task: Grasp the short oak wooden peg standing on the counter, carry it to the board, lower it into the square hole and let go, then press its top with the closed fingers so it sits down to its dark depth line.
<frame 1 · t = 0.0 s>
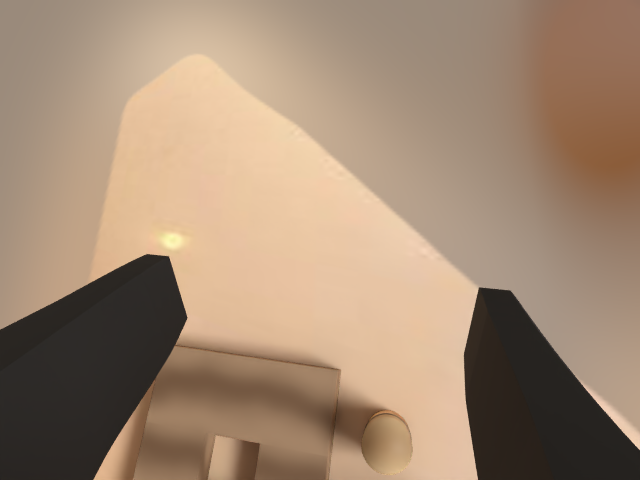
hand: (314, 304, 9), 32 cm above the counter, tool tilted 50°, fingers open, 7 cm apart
oak peg: (387, 433, 38), on the counter
hole board: (236, 463, 39), on the counter
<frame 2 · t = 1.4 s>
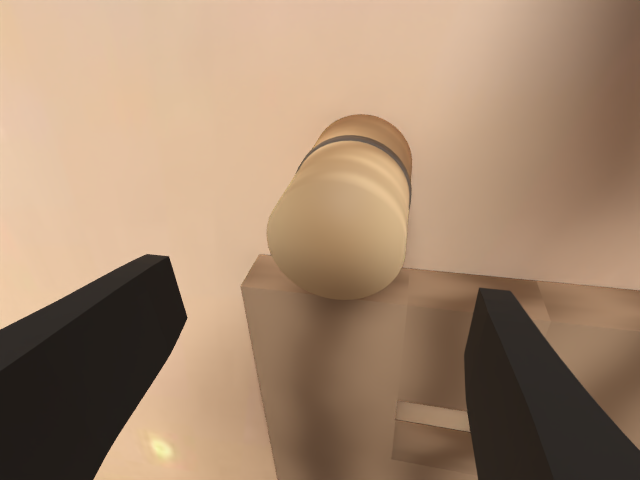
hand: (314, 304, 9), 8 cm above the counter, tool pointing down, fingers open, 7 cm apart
oak peg: (361, 164, 16), on the counter
hole board: (445, 399, 23), on the counter
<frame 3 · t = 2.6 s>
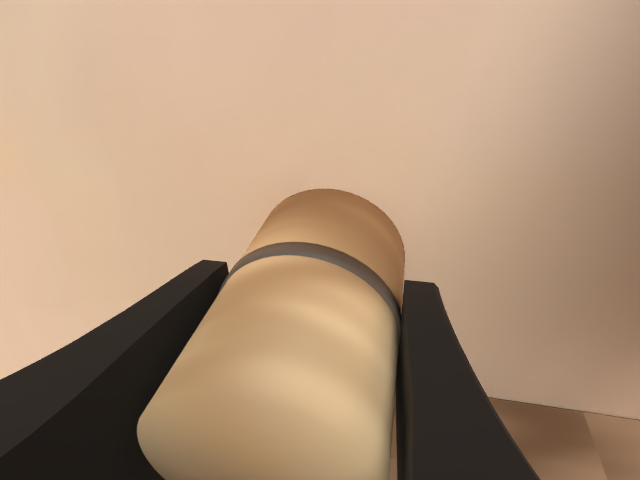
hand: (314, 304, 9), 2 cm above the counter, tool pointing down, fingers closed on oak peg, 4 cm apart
oak peg: (330, 254, 11), on the counter, touching gripper
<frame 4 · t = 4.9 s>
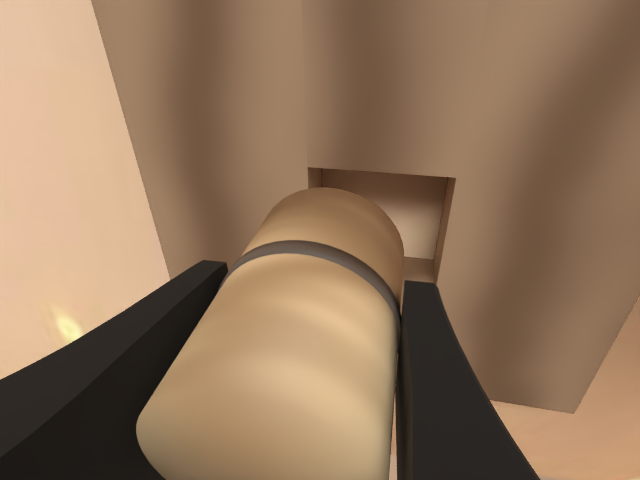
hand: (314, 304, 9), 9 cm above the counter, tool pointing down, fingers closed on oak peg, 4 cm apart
oak peg: (330, 253, 11), point 7 cm above the counter, touching gripper
hole board: (380, 205, 18), on the counter
when the fingers open (4 cm above the counter, at t = 7.0 s): oak peg drops 2 cm, resting in hole board.
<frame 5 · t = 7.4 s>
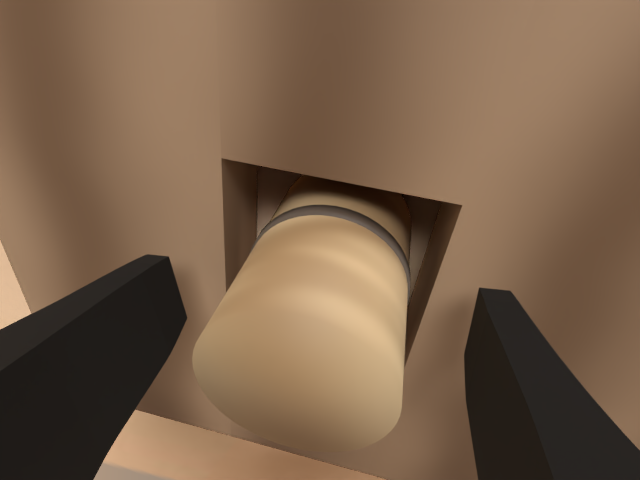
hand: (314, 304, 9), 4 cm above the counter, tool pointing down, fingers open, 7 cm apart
oak peg: (344, 224, 12), resting in hole board
hole board: (340, 225, 12), on the counter
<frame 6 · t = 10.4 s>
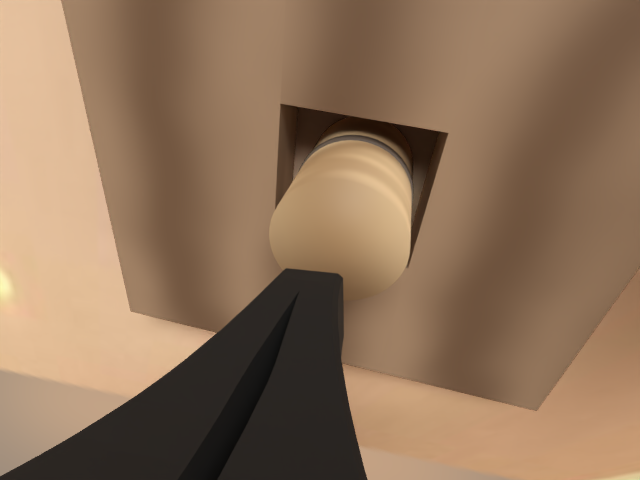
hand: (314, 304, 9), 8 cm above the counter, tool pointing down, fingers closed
oak peg: (361, 165, 16), resting in hole board
hole board: (358, 165, 16), on the counter
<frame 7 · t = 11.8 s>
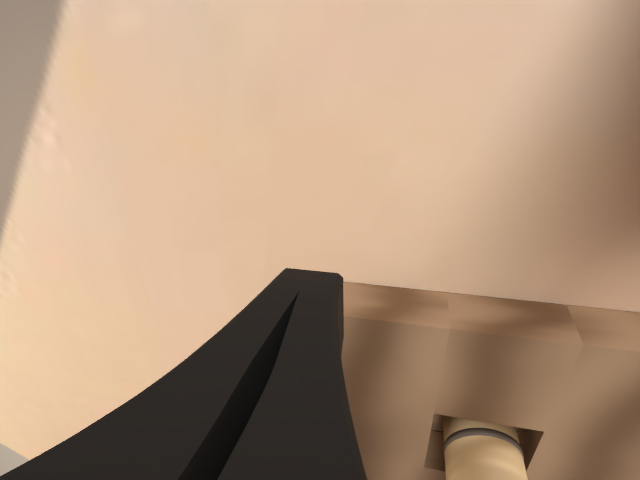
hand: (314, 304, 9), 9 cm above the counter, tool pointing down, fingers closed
oak peg: (476, 411, 24), resting in hole board
hole board: (474, 411, 24), on the counter
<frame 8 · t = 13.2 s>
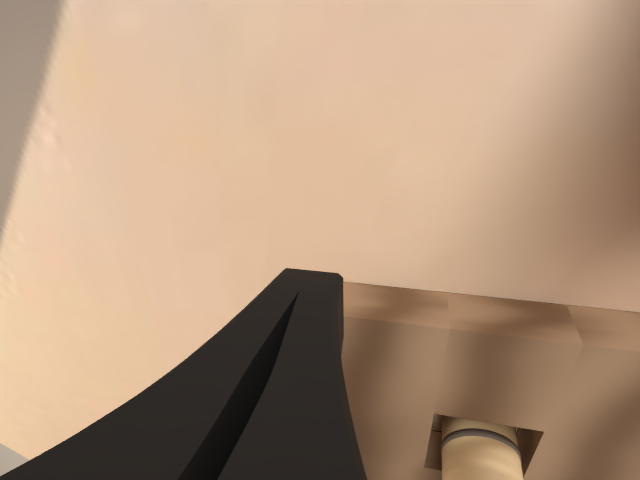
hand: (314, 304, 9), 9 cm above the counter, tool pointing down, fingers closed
oak peg: (476, 411, 24), resting in hole board
hole board: (474, 411, 24), on the counter
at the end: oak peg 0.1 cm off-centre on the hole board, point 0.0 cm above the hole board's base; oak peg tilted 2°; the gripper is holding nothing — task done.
